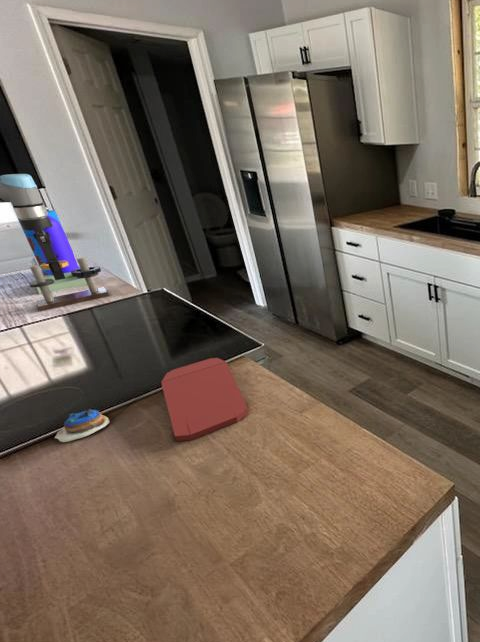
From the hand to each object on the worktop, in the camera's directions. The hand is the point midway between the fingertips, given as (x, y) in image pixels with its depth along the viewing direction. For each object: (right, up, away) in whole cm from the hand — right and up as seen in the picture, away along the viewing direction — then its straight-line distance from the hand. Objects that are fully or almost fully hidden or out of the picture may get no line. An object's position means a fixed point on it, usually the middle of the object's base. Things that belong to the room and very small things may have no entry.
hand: (59, 276), depth 158 cm
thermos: (-18, +3, +17) cm, 25 cm away
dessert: (+89, -33, -76) cm, 121 cm away
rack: (+21, -9, -14) cm, 27 cm away
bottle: (-9, 0, +11) cm, 14 cm away
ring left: (0, +4, -1) cm, 4 cm away
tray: (0, -3, +1) cm, 3 cm away
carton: (+107, -29, -68) cm, 130 cm away
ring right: (+24, +1, -13) cm, 28 cm away
